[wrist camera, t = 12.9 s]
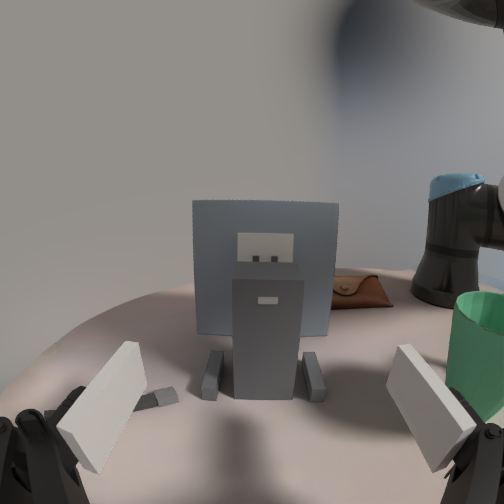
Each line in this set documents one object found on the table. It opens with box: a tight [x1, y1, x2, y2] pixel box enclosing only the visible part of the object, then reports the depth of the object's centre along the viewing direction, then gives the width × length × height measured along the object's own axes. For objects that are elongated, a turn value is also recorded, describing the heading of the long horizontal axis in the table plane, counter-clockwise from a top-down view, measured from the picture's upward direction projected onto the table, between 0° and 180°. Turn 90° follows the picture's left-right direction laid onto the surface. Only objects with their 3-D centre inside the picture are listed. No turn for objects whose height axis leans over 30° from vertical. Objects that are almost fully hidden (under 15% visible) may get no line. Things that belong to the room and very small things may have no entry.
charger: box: [232, 261, 305, 400], centre depth 23 cm, size 5×6×11 cm
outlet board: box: [192, 200, 339, 402], centre depth 26 cm, size 16×14×16 cm
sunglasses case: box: [331, 275, 393, 310], centre depth 44 cm, size 18×7×7 cm
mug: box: [445, 291, 504, 423], centre depth 15 cm, size 15×10×10 cm
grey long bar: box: [44, 387, 179, 422], centre depth 17 cm, size 12×1×1 cm, turn 123°
